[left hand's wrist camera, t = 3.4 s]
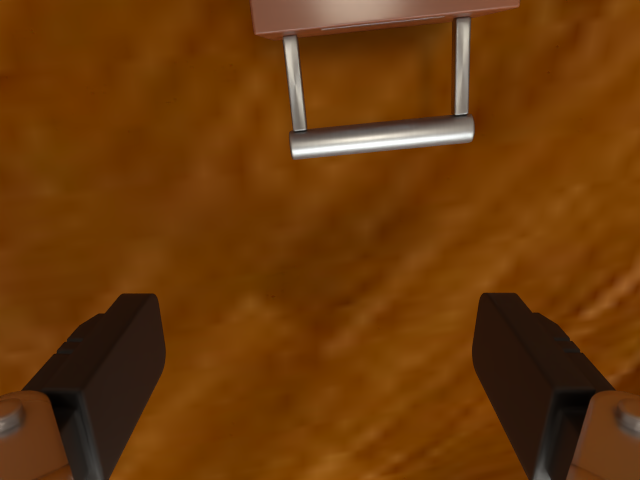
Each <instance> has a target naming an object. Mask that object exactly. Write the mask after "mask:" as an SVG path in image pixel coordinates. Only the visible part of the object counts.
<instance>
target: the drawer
mask: <svg viewBox="0 0 640 480" xmlns="http://www.w3.org/2000/svg"><path fill="white" fill-rule="evenodd" d="M249 2H250V9H251V16H252V23H253V31H254V34H255V35H258V36H261V37H264V38H267V39H271V40H283V47H284V56H285V64H286V73H287V81H288V90H289V98H290V107H291V116H292V124H293V130H294V131H290V133H289V142H290V151H291V156H292V159H304V158H315V157H325V156H335V155H345V154H356V153H366V152H376V151H387V150H397V149H407V148H417V147H428V146H438V145H448V144H459V143H469V142H471V141H472V140H473V137H474V132H475V124H474V119H473V116H472V115H471V114H469V113H468V102H469V66H470V29H471V18H474V17H479V16H483V15H487V14H492V13H496V12H500V11H505V10H509V9H514V8H517V7H519V5H520V0H249ZM444 22H452V88H451V113H452V114H453V115H446V116H436V117H426V118H416V119H406V120H396V121H386V122H376V123H366V124H356V125H346V126H336V127H326V128H315V129H307V120H306V111H305V101H304V91H303V82H302V72H301V63H300V53H299V44H298V38H302V37H311V36H321V35H330V34H340V33H349V32H359V31H368V30H378V29H387V28H397V27H406V26H416V25H425V24H435V23H444Z"/></svg>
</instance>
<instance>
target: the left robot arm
mask: <svg viewBox="0 0 640 480" xmlns="http://www.w3.org/2000/svg"><path fill="white" fill-rule="evenodd" d="M165 354H166V351H165V342H164V335H163V329H162V322H161V315H160V309H159V303H158V299H157V297H156V295H155V294H121V295H120V296H119V297H118V298H117V300H116V301H115V302H114V303H113V304H112V306H111V307H110V308H109V309H108V310H107V312H106V313H105V314H97V315H96V316H94V317H92V318H91V319H89V320H88V321H86V322H84V323H83V324H81V325H80V326H79V327H78V328H77V329H76V330H75V331H74V332H73V333H72V334H71V336H70V337H69V338H68V339H67V342H64V343H63V345H62V346H61V347H60V348H59V349H58V350H57V354H54V355H53V356H52V357H51V358H50V359H49V360H48V361H47V362H46V364H45V365H44V366H43V367H42V368H41V369H40V370H39V371H38V372H37V374H36V375H35V376H34V377H33V378H32V379H31V380H30V381H29V382H28V384H27V385H26V386H25V387H24V388H23V389H22V390H21V391H17V392H12V393H8V394H5V395H2V396H0V480H109V478H110V476H111V474H112V472H113V470H114V468H115V466H116V464H117V462H118V460H119V458H120V456H121V454H122V452H123V450H124V448H125V446H126V444H127V442H128V440H129V438H130V436H131V434H132V432H133V430H134V428H135V426H136V424H137V422H138V420H139V418H140V416H141V414H142V412H143V410H144V408H145V406H146V404H147V402H148V400H149V398H150V396H151V394H152V392H153V390H154V388H155V386H156V384H157V382H158V380H159V378H160V376H161V374H162V371H163V368H164V364H165ZM472 358H473V365H474V368H475V371H476V374H477V376H478V378H479V380H480V382H481V384H482V386H483V388H484V390H485V392H486V394H487V396H488V398H489V400H490V402H491V404H492V406H493V408H494V410H495V412H496V414H497V416H498V418H499V420H500V422H501V424H502V426H503V428H504V430H505V432H506V434H507V436H508V438H509V440H510V442H511V444H512V446H513V448H514V450H515V453H516V455H517V457H518V459H519V461H520V463H521V465H522V467H523V469H524V471H525V473H526V475H527V477H528V479H529V480H640V396H638V395H635V394H632V393H628V392H623V391H616V390H615V389H614V388H613V387H612V385H611V384H610V383H609V382H608V381H607V380H606V379H605V378H604V376H603V375H602V374H601V373H600V372H599V371H598V370H597V369H596V367H595V366H594V365H593V364H592V363H591V362H590V361H589V360H588V358H587V357H586V356H585V355H584V354H583V353H580V349H579V348H578V347H577V346H576V345H575V344H574V343H573V341H570V338H569V337H568V336H567V335H566V334H565V332H564V331H563V330H562V329H561V328H560V327H559V326H558V325H557V324H556V323H554V322H553V321H551V320H549V319H548V318H546V317H544V316H543V315H541V314H540V313H532V312H531V311H530V309H529V308H528V307H527V306H526V305H525V303H524V302H523V301H522V300H521V299H520V297H519V296H518V295H517V294H516V293H483V294H482V295H481V297H480V300H479V305H478V312H477V319H476V325H475V332H474V339H473V346H472Z"/></svg>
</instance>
